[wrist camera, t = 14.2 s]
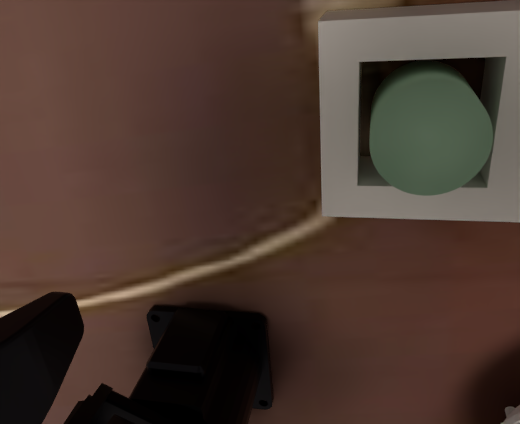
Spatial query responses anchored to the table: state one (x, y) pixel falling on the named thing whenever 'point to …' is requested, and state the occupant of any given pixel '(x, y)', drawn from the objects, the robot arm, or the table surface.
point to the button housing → (419, 48)
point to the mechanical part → (512, 415)
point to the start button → (428, 129)
